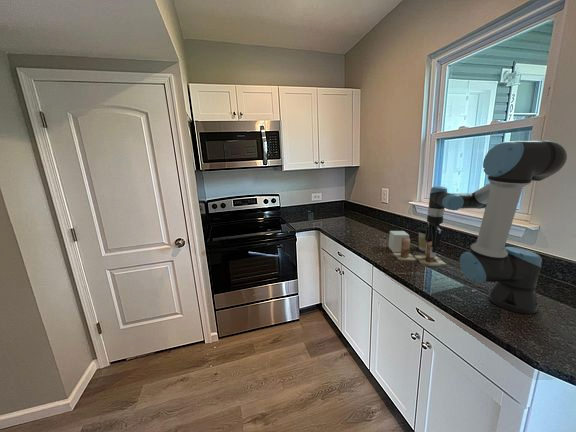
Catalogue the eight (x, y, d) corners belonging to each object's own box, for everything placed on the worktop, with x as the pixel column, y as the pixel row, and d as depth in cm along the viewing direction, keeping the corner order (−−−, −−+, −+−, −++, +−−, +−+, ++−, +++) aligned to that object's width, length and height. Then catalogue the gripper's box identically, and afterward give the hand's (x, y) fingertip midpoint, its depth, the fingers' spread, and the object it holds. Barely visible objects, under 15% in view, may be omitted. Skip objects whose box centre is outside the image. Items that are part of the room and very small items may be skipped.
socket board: (446, 268, 134) (446, 264, 134) (423, 268, 135) (423, 263, 135) (435, 259, 146) (435, 255, 145) (414, 259, 147) (414, 255, 146)
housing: (407, 254, 154) (409, 235, 151) (392, 254, 155) (394, 235, 152) (402, 249, 163) (404, 230, 160) (388, 249, 164) (389, 230, 161)
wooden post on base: (416, 262, 142) (419, 242, 139) (398, 262, 143) (400, 242, 140) (409, 255, 153) (411, 236, 150) (392, 255, 154) (394, 236, 151)
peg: (435, 262, 138) (438, 244, 136) (427, 262, 139) (430, 244, 136) (431, 259, 143) (434, 241, 140) (423, 259, 143) (426, 241, 140)
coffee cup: (435, 254, 153) (438, 231, 150) (418, 253, 155) (421, 231, 151) (430, 249, 162) (432, 227, 159) (414, 248, 164) (416, 226, 161)
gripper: (451, 219, 125) (445, 261, 131) (434, 211, 142) (429, 249, 148) (436, 219, 126) (430, 261, 132) (421, 211, 143) (416, 249, 148)
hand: (430, 255), depth 140 cm, fingers closed on peg, 4 cm apart
